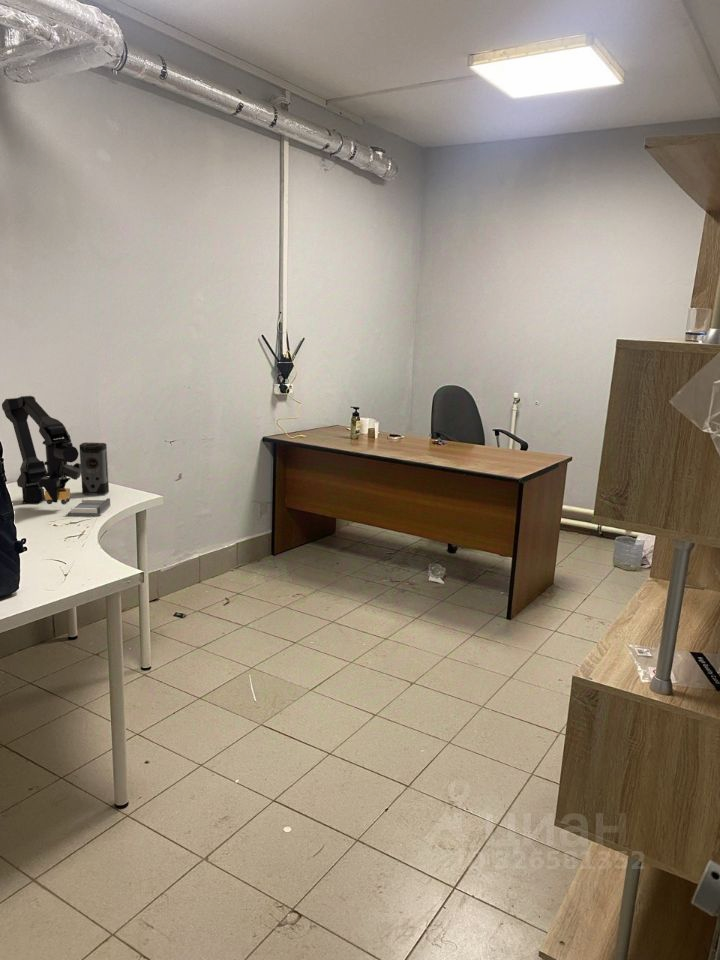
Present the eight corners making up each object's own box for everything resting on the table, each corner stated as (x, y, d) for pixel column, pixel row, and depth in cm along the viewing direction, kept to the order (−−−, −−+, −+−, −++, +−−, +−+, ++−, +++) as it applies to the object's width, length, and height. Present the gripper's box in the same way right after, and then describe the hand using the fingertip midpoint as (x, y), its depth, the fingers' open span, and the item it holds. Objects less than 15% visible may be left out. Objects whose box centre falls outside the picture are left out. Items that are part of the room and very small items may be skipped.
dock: (68, 515, 242) (67, 507, 241) (80, 505, 254) (79, 497, 254) (100, 516, 243) (99, 507, 242) (110, 506, 255) (110, 498, 254)
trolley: (45, 504, 244) (44, 491, 243) (50, 501, 249) (49, 488, 248) (66, 505, 245) (65, 491, 244) (70, 501, 250) (69, 488, 248)
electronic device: (81, 495, 268) (78, 444, 264) (86, 491, 274) (83, 442, 269) (105, 495, 269) (102, 445, 264) (110, 491, 274) (107, 442, 270)
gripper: (69, 464, 235) (72, 508, 238) (86, 453, 253) (89, 494, 256) (36, 463, 234) (39, 507, 237) (55, 452, 252) (58, 493, 255)
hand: (58, 500), depth 247 cm, fingers closed on trolley, 5 cm apart
